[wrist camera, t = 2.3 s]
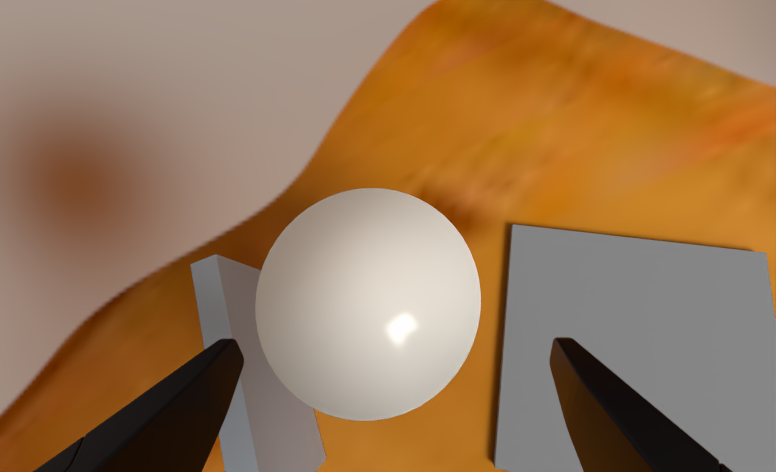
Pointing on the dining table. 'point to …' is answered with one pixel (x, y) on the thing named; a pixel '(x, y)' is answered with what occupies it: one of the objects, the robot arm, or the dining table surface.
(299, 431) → the screen
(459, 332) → the white rounded cylinder
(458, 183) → the dining table surface
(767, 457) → the slate mat
